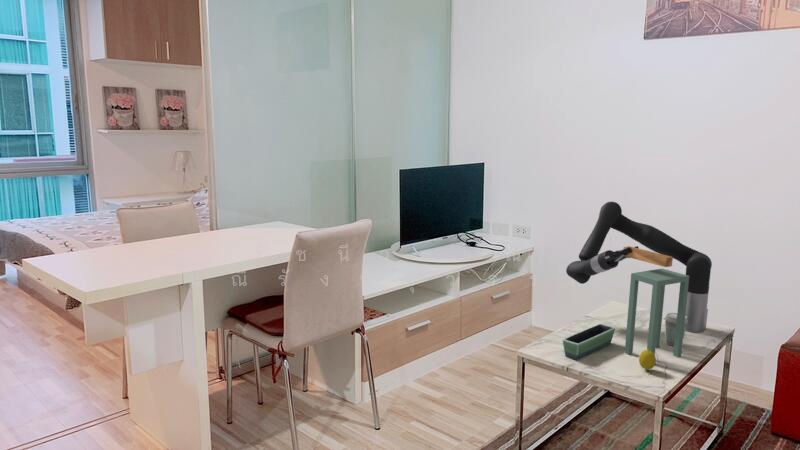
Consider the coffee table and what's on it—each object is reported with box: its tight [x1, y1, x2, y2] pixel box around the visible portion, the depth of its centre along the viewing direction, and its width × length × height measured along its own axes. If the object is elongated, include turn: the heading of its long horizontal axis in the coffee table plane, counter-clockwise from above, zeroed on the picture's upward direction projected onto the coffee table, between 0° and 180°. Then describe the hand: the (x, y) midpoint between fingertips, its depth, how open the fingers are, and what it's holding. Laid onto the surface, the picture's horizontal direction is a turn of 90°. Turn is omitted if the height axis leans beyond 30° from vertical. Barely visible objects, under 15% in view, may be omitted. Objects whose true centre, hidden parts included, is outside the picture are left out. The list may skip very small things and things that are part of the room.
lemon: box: [638, 348, 657, 371], centre depth 211 cm, size 6×6×8 cm
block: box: [622, 245, 674, 268], centre depth 225 cm, size 4×20×4 cm, turn 27°
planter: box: [562, 323, 616, 361], centre depth 229 cm, size 28×7×7 cm, turn 132°
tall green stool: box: [624, 268, 689, 358], centre depth 223 cm, size 17×12×32 cm
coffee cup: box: [664, 312, 688, 347], centre depth 236 cm, size 8×9×12 cm
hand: (634, 249), depth 230 cm, fingers closed on block, 3 cm apart
